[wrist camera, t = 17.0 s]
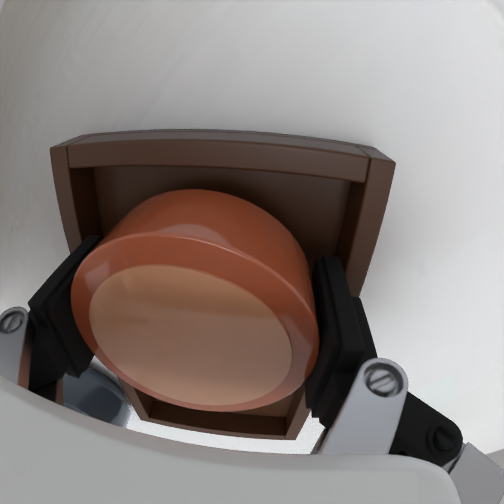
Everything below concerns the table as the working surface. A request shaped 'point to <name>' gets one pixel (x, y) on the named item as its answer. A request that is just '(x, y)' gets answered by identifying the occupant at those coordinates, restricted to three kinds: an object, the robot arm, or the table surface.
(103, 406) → the slate dish
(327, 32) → the table surface
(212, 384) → the terracotta dish
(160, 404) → the tray
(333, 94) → the table surface
